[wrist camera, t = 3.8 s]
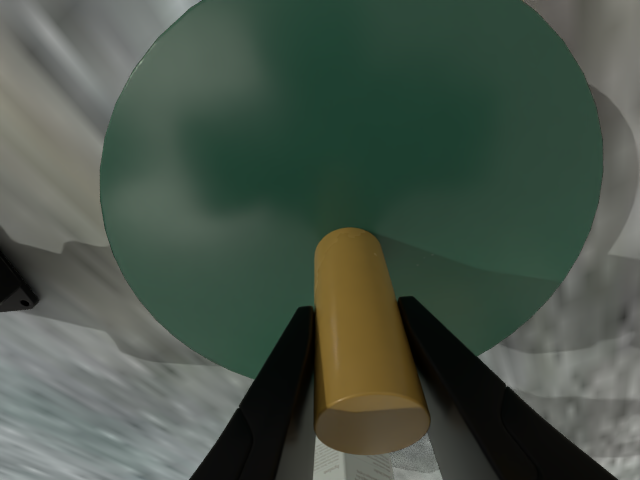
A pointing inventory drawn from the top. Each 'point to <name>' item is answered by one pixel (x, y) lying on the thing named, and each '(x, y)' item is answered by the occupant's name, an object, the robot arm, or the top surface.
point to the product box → (349, 465)
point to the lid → (351, 187)
